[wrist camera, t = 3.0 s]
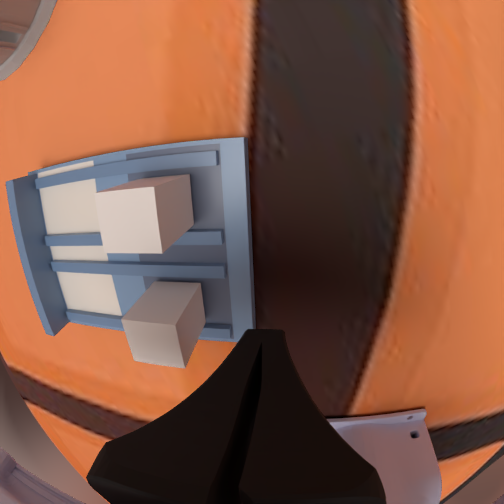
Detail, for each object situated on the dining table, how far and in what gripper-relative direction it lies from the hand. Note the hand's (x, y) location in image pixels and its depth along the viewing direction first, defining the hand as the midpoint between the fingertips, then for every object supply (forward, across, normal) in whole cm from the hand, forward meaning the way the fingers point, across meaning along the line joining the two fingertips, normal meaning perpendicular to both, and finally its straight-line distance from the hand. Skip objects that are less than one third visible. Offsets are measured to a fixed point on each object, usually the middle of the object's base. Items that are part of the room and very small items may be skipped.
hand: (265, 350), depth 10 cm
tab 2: (+3, +5, 0) cm, 6 cm away
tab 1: (+3, +4, -5) cm, 7 cm away
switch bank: (+5, +8, -2) cm, 9 cm away
